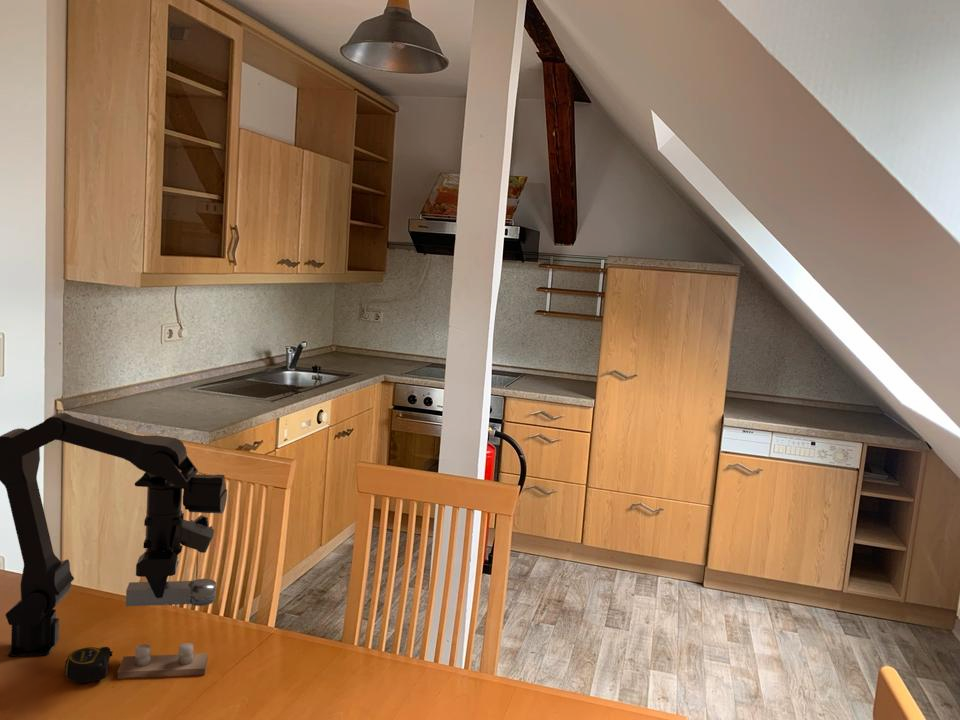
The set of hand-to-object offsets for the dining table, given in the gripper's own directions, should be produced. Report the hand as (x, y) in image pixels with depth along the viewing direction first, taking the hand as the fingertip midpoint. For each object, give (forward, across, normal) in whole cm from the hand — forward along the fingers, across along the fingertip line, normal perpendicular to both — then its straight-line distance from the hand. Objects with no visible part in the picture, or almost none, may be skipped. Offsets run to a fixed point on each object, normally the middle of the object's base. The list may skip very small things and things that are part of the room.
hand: (160, 593), depth 138 cm
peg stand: (+11, -6, -2) cm, 13 cm away
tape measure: (+12, -6, +10) cm, 16 cm away
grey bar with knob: (+1, 0, -2) cm, 2 cm away
